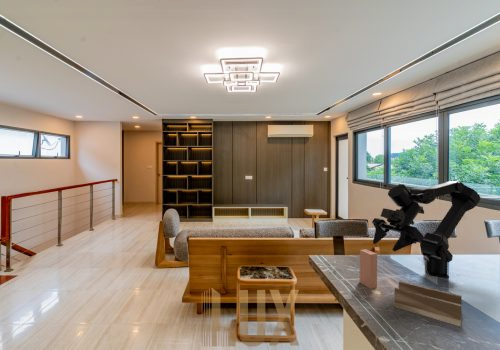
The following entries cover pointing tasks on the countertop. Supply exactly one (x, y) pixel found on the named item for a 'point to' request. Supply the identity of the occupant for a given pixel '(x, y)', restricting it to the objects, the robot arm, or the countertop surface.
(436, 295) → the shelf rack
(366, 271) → the salmon orange rectangular block
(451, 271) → the countertop surface
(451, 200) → the robot arm
